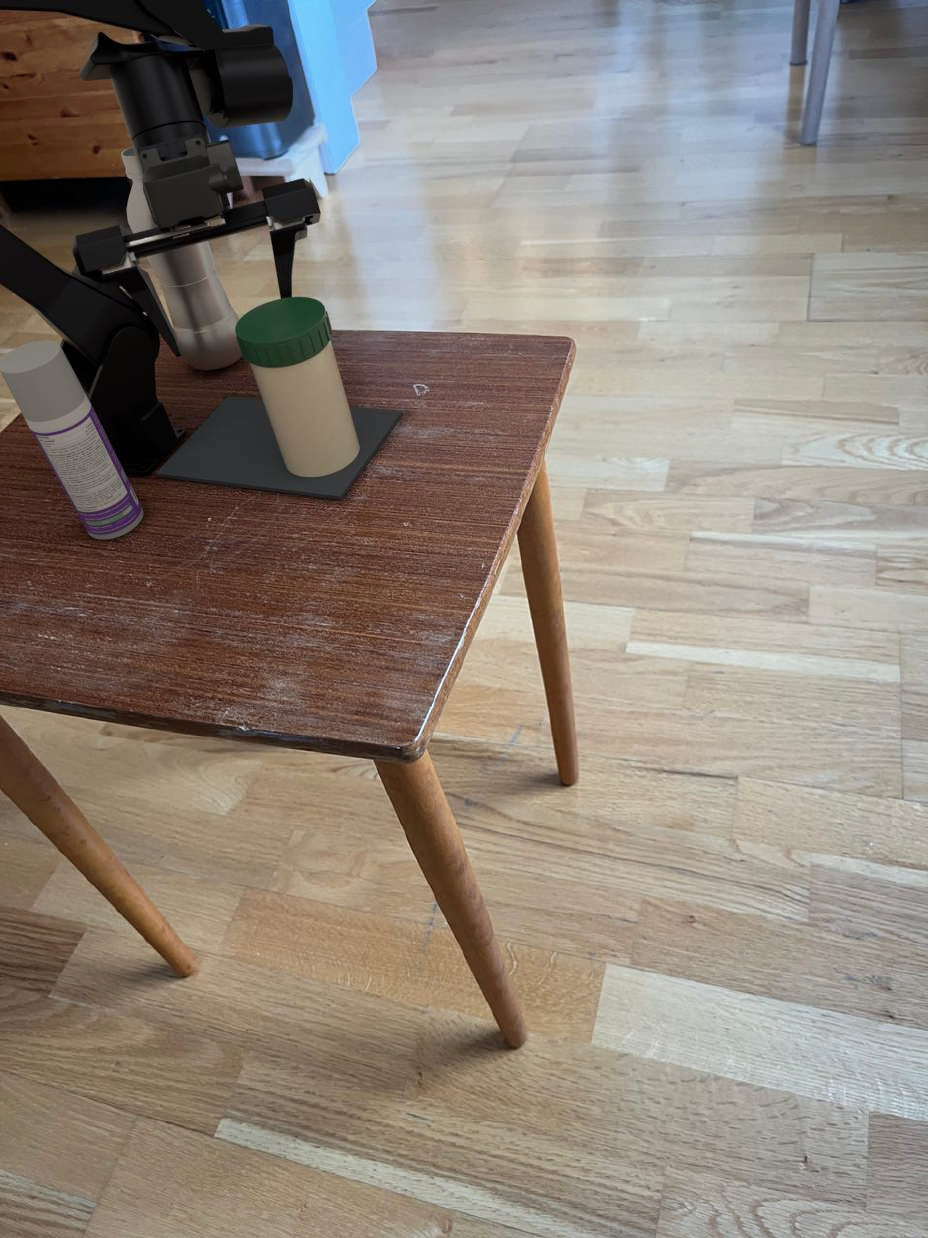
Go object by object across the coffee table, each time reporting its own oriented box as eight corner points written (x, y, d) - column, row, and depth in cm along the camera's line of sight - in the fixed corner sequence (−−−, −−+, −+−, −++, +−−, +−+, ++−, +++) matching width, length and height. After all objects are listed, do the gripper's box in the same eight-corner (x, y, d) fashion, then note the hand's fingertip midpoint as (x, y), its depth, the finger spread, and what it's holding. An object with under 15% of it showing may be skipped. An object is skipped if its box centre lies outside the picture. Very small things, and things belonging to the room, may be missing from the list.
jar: (270, 473, 78) (223, 343, 70) (306, 429, 82) (266, 301, 74) (339, 481, 76) (298, 348, 68) (372, 435, 80) (338, 304, 72)
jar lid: (225, 364, 71) (216, 340, 70) (270, 318, 76) (263, 294, 74) (306, 370, 69) (298, 345, 67) (348, 321, 73) (341, 297, 72)
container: (97, 506, 80) (10, 343, 69) (150, 500, 79) (71, 335, 69) (79, 542, 76) (-15, 377, 66) (134, 536, 76) (48, 369, 65)
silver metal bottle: (238, 377, 91) (162, 159, 78) (175, 379, 93) (89, 166, 79) (261, 344, 96) (193, 132, 82) (200, 346, 97) (124, 139, 84)
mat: (157, 476, 81) (155, 473, 81) (229, 399, 89) (228, 395, 89) (341, 500, 75) (340, 496, 75) (403, 414, 82) (402, 410, 82)
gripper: (17, 140, 64) (101, 373, 69) (287, 75, 66) (352, 306, 70) (56, 172, 75) (127, 371, 79) (288, 114, 76) (344, 313, 81)
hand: (235, 341), depth 77 cm, fingers open, 9 cm apart
